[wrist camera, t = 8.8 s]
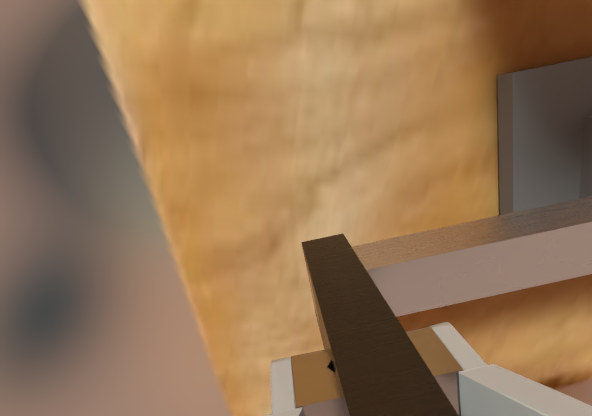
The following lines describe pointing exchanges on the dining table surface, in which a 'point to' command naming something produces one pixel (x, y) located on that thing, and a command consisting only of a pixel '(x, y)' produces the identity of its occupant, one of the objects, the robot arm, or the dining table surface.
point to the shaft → (429, 294)
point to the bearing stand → (545, 135)
